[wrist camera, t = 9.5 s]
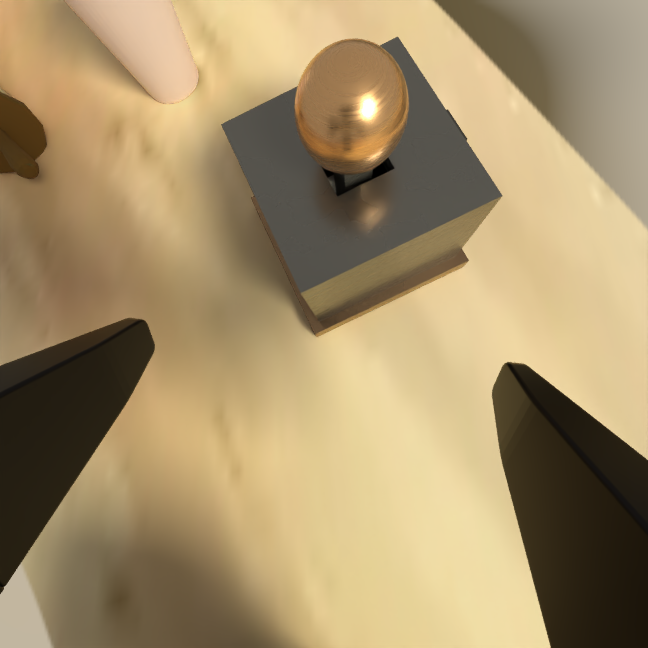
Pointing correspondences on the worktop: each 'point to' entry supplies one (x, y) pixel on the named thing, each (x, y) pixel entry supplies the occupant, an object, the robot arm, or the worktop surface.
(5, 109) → the rolling pin
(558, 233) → the worktop surface
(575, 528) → the robot arm
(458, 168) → the copper ball lever box
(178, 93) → the smoothie
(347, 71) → the copper ball knob
